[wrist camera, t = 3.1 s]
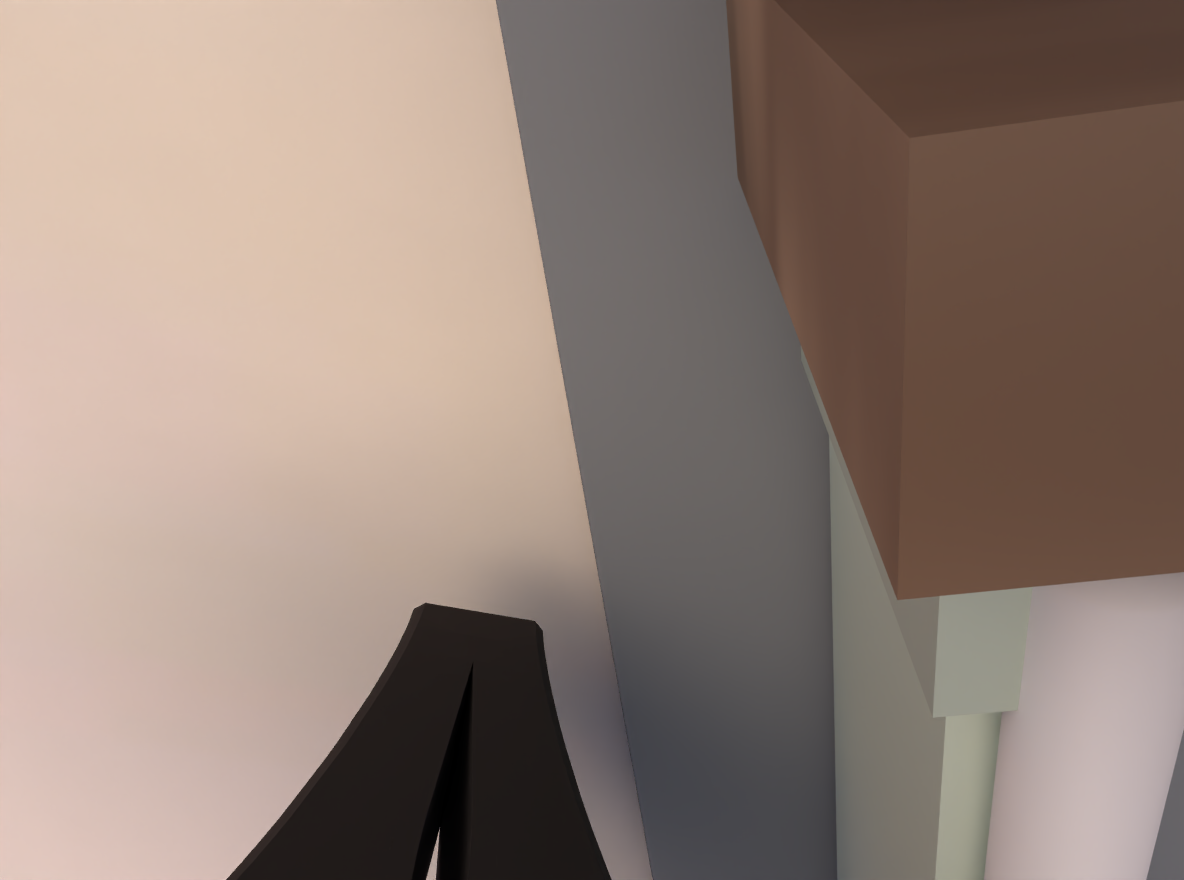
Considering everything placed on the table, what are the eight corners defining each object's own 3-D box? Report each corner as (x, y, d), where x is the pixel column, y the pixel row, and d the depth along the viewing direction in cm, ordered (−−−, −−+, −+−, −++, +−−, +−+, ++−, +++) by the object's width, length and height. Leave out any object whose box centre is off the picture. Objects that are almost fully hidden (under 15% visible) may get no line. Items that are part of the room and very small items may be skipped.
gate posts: (958, 1006, 18) (1116, 1538, 12) (790, 1017, 18) (871, 1543, 12) (1065, -110, 8) (1923, -1, 3) (719, -58, 9) (911, 138, 3)
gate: (948, 951, 16) (1083, 1393, 11) (821, 960, 16) (905, 1398, 11) (1008, 223, 9) (1374, 576, 5) (797, 250, 10) (964, 615, 5)
